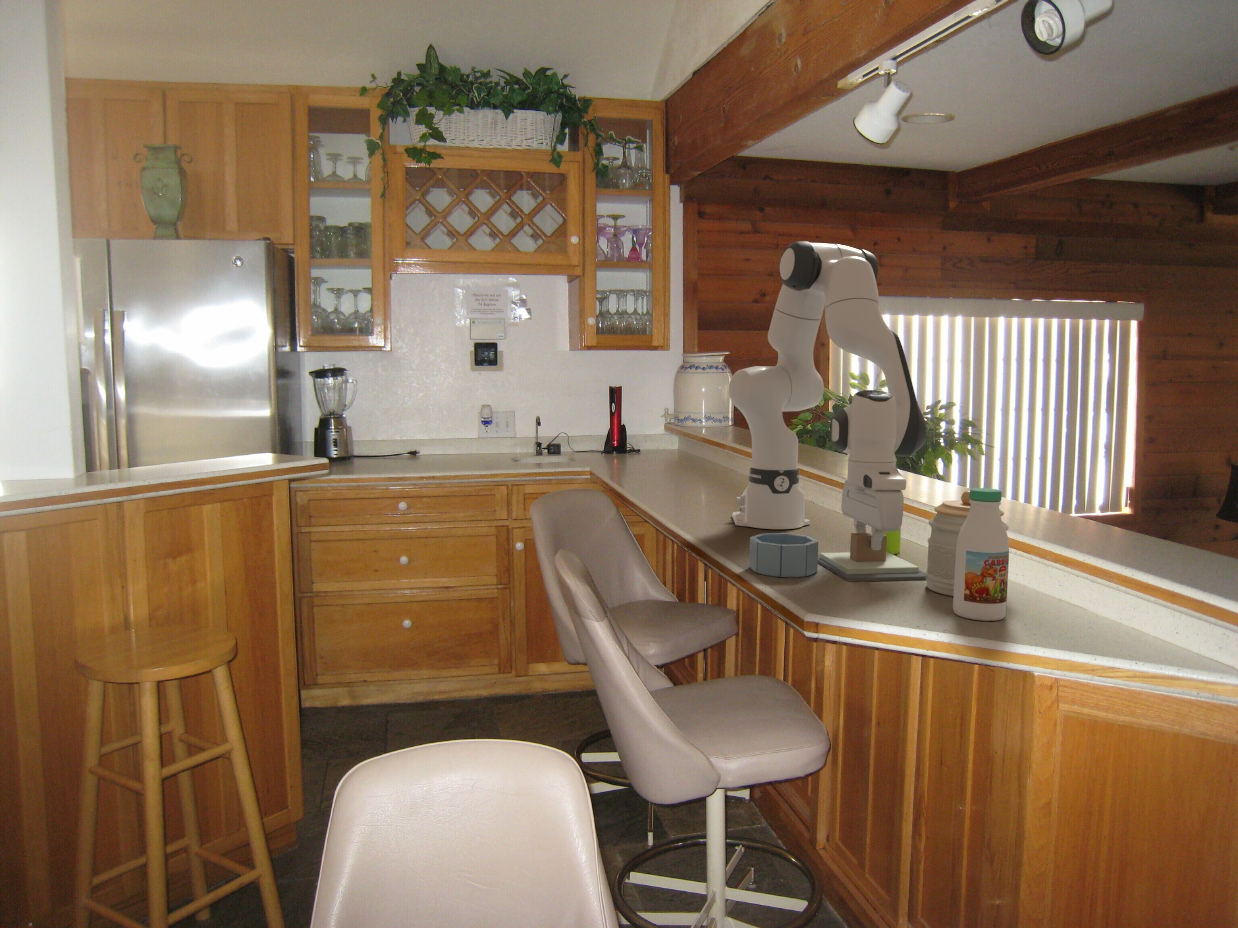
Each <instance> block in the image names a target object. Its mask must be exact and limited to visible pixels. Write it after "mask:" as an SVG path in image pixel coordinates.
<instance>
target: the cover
mask: <svg viewBox="0 0 1238 928" xmlns="http://www.w3.org/2000/svg"><path fill="white" fill-rule="evenodd" d="M871 538H872V532H866V533H856V532H852V533H850V548H849V550H850V551H847V552H820V553H819V555H820V558H821V559H823V560H824V561H826V562H828V563H829V564H831V565H833V566H834V567H836V568H838V569H839V570H841V571H843V572H845V573H846V574H875V573H916V572H919V570H920V567H919V566H917V565H915V564H913V563H911V562H909V561H907V560H906V559H902V558H901V557H898V556H896V555H895V554H890V553H888V552H886V545H887V536H886V535H884V537H883V539H882V541H881V549H880V550H872V549H870V548H869V540H871Z"/></svg>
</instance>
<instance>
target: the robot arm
mask: <svg viewBox="0 0 1238 928" xmlns="http://www.w3.org/2000/svg"><path fill="white" fill-rule="evenodd" d="M879 269H880V268H879V263H878V260H877V257H876V256H875V255H874V254H873V253H871V252H870V251H868V250H866V249H862V248H861V247H860V248H859V247H858V248H854V247H851V246H849V245H844V244H843V245H842V244H839V243H826V242H825V243H824V242H823V243H822V242H809V241H806V240H802V241H801V240H799V241H794V242H792V243H790V244H789V245H787V247H786V248H784V250H783V252H782V254H781V257H780V259H779V264H778V275H779V278H780V280H781V283H782V285H781V288H780V290H779V294H778V296H777V299H776V303H775V306H774V308H773V309H774V310H773V314H772V317H771V322H770V325H769V328H768V329H769V330H768V333H767V341H768V343H769V344H770V346H771V347H772V349H774V350H775V351H776V352H777V358H778V359H777V363H776V365H774V366H772V365H770V366H769V365H768V366H766V365H764V366H761V365H758V366H757V365H754V366H750V367H746V368H741V369H739V370H737V371H735V372H734V373H733V375H732V377H731V378H730V380H729V384H728V396H729V398H730V399H729V400H730V401H731V404H733V406H734V407H735V408H737V410H739V411H740V413H741V414H742V415H743V416H744V418H745V420H746V422H747V425H748V428H749V431H750V435H751V467H750V469H749V473H748V481H749V482H748V484H747V486H746V487H745V489H744V491H743V492H742V494H741V495H740V496H736V498H735V506H736V507H740V508H739V511H733V512H731V517H732V520H733V522H734V525H735V526H739V527H750V528H756V529H765V530H766V529H767V530H791V529H798V528H801V527H803V526H808V525H811V520H810V519H809V518H808V519H807V518H805V517H806V515H805V512H806V510H805V492H804V491H803V490H802V489H801V488H800V487H799V483H800V477H801V476H800V469H799V468H798V467H799V466H798V461H799V460H798V459H799V439H798V436H797V434H796V433H795V432H794V431H793V430H792V429H790V428H789V427H787V425H786V423H785V421H784V417H783V412H801V411H803V410H804V411H805V410H808V409H811V408H814V407H816V406H817V405H819V404H820V402H821V401H822V399H823V395H824V393H825V392H824V391H825V385H824V381H823V377H822V375H820V373H819V372H818V370H817V369H816V366H815V361H814V350H815V344H816V339H817V335H818V333H819V332H818V331H819V327H820V324H821V321H822V317H823V314H824V317H825V318H824V321H825V327H826V332H827V335H828V338H829V339H830V340H831V342H832V343H834V344H835V345H836V346H837V347H838V348H839V349H842V350H843V351H845V352H847V353H848V354H852V355H855V356H857V357H861V358H864V359H866V360H868V361H869V362H871V363H873V364H875V365H876V366H878V368H880V370H881V371H882V374H883V375H884V378H885V382H886V386H887V390H888V392H887V391H882V390H877V389H875V390H874V389H873V390H872V389H866V390H860V391H857V392H856V393H854V394H853V396H852V400H851V403H850V404H849V405H848V406H847V405H846V407H840V409H839V410H838V411H836V412H835V413H834V415H832V417H831V419H830V442H831V444H832V445H833V446H834V448H836V450H837V451H839V452H840V453H845V454H849V455H848V459H847V477H846V478H847V479H846V480H845V481H844V483H843V486H842V487H843V488H842V497H841V512H842V515H844V516H846V517H848V518H851V519H853V526H854V529H855V533H867V526H869V527H871V530H870V531H871V532H870V533H872V532H873V533H872V538H871V540H869V548H870V549H872V550H880V549H881V541H882V539H883V537H884V534H885V532H894V531H899V529H900V527H901V528H902V525H903V517H904V502H905V497H904V494H903V491H906V489H907V480H906V478H905V477H904V476H903V475H902V474H901V472H899V469H898V468H897V467H896V464H897V462H896V459H897V458H896V457H903V458H908V457H911V456H912V455H914V454H915V453H916V452H918V451H919V450H920V449H921V448H922V447H923V446H924V444H925V442H926V439H927V426H926V421H925V418H924V416H923V413H922V411H921V408H920V406H919V404H918V400H917V397H916V392H915V389H914V385H913V381H912V377H911V373H910V370H909V365H908V362H907V357H906V354H905V351H904V347H903V344H902V341H901V339H900V337H899V335H898V334H897V332H895V331H893V330H891V328H890V327H888V325H887V324H886V321H885V319H884V318H883V315H882V313H881V308H880V306H881V305H880V298H879V297H880V296H879V290H878V284H877V280H878V278H879ZM900 490H901V491H900Z"/></svg>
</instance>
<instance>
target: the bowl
mask: <svg viewBox="0 0 1238 928" xmlns="http://www.w3.org/2000/svg"><path fill="white" fill-rule="evenodd" d="M818 555H819V540H817V539H816V538H813V537H812V536H809V535H804V534H796V533H786V532H779V533H778V532H774V533H773V532H772V533H769V532H768V533H759V534H756V535H753V536H749V566H748V567H749V568H750V569H751V570H752V571H753V572H754V573H757V574H760V575H762V576H763V575H764V576H768V577H775V578H776V577H777V578H803V577H805V578H806V577H809V576H812V575H815V573H817V572H818V565H819V563H818Z"/></svg>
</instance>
